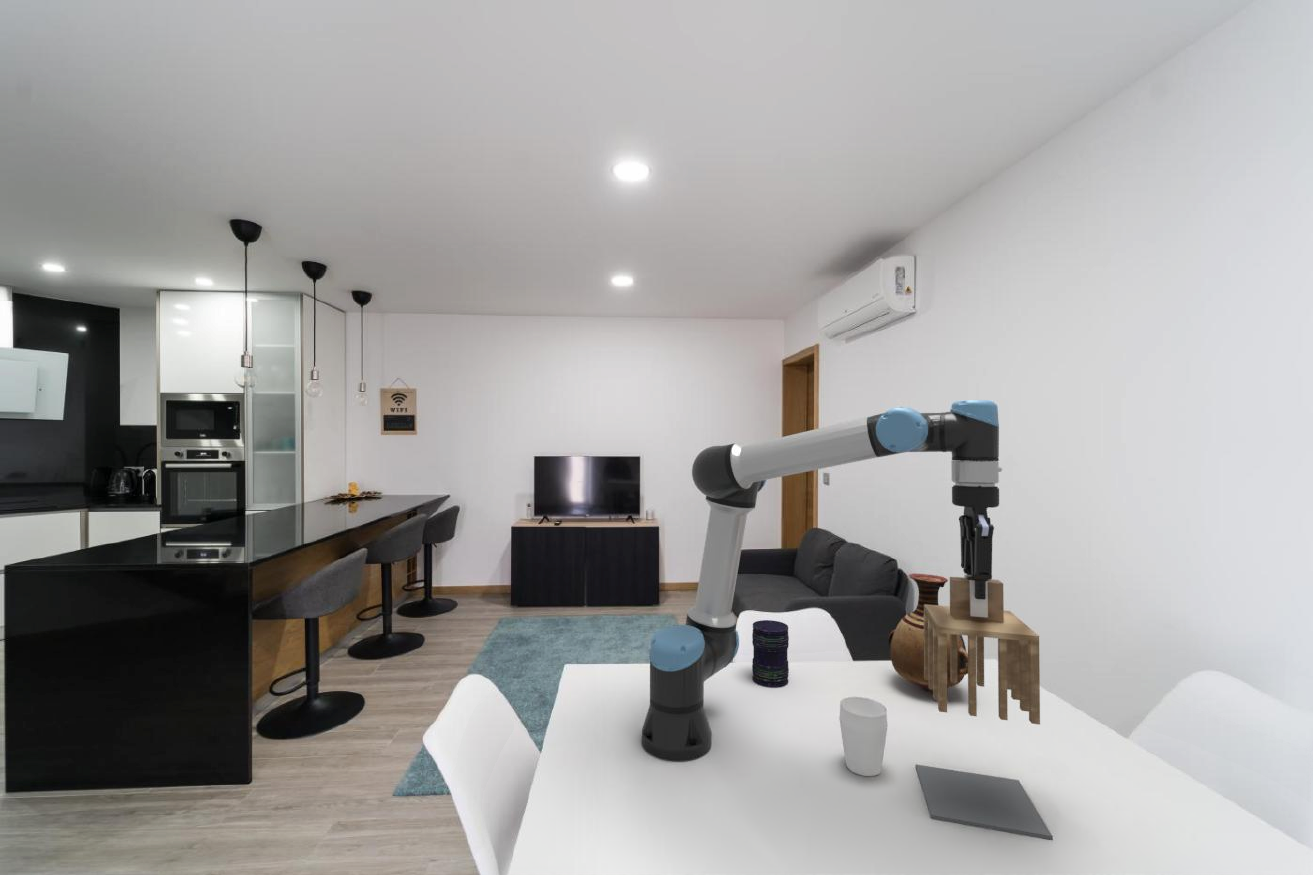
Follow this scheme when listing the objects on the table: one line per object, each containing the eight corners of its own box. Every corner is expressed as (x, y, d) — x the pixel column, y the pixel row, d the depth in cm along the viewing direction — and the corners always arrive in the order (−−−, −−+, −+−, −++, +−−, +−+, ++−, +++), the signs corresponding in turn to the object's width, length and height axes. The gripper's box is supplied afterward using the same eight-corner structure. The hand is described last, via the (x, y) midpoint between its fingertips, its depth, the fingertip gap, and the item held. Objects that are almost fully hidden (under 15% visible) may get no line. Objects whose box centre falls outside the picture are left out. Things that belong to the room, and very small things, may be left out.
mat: (930, 818, 95) (930, 814, 95) (915, 767, 110) (915, 764, 110) (1052, 839, 90) (1052, 836, 90) (1018, 783, 105) (1018, 780, 105)
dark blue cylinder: (767, 670, 159) (767, 617, 159) (796, 681, 151) (796, 626, 151) (744, 679, 152) (744, 624, 153) (773, 691, 145) (773, 633, 145)
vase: (872, 678, 153) (872, 570, 154) (925, 671, 159) (924, 566, 159) (932, 713, 133) (931, 588, 133) (990, 703, 138) (989, 583, 139)
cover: (939, 711, 95) (938, 586, 96) (924, 677, 110) (923, 568, 110) (1040, 724, 91) (1038, 593, 91) (1010, 687, 105) (1009, 574, 106)
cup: (892, 783, 105) (892, 719, 105) (842, 777, 107) (842, 714, 107) (882, 757, 114) (882, 698, 114) (836, 752, 115) (836, 694, 116)
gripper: (1013, 487, 92) (1014, 628, 92) (985, 482, 108) (986, 603, 107) (963, 486, 95) (964, 624, 94) (943, 481, 110) (943, 600, 109)
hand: (975, 613), depth 101 cm, fingers closed on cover, 3 cm apart
